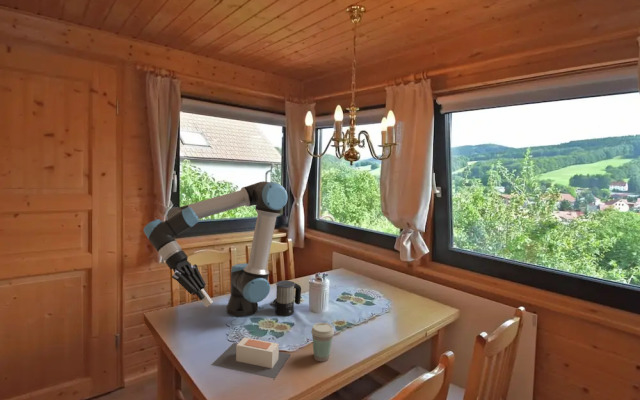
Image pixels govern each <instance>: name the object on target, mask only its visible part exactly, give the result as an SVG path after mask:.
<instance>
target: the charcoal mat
mask: <svg viewBox="0 0 640 400" xmlns="http://www.w3.org/2000/svg"><path fill="white" fill-rule="evenodd" d="M237 344H238V343H236V342H233V343H232V344H231V345H230V346H229V347H228V348H227V349H225V351H223V353H221V355H220V356H218V357H217V358H216V360H214V361H213V362H212V363H211V366H214V367H219V368H224V369H228V370H234V371H237V372H243V373H247V374H251V375H255V376H256V375H257V376H261V377H266V378H270V379H273V380H275V379H276V378H277V376H278V375H279V373H280V372H281V370H282V369H283V368H284V366H285V365H286V363H287V361H289V358H290V357H291V353H288V352H283V351H279V355H278V360H277V362H276V363H275V365H274V366H273V368H268V367H263V366H258V365H253V364H249V363H244V362H239V361H236V345H237Z"/></svg>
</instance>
